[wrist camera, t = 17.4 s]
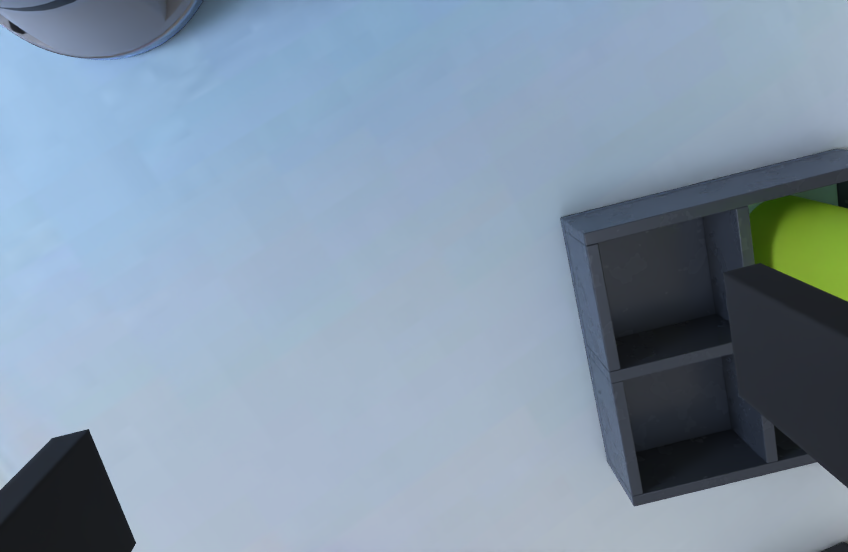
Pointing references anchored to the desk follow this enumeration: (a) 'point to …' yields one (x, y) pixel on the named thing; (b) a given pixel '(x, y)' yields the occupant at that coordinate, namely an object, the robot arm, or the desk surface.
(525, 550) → the desk surface
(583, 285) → the rack
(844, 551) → the black ridged block
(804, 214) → the soap dispenser
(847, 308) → the robot arm
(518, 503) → the desk surface
